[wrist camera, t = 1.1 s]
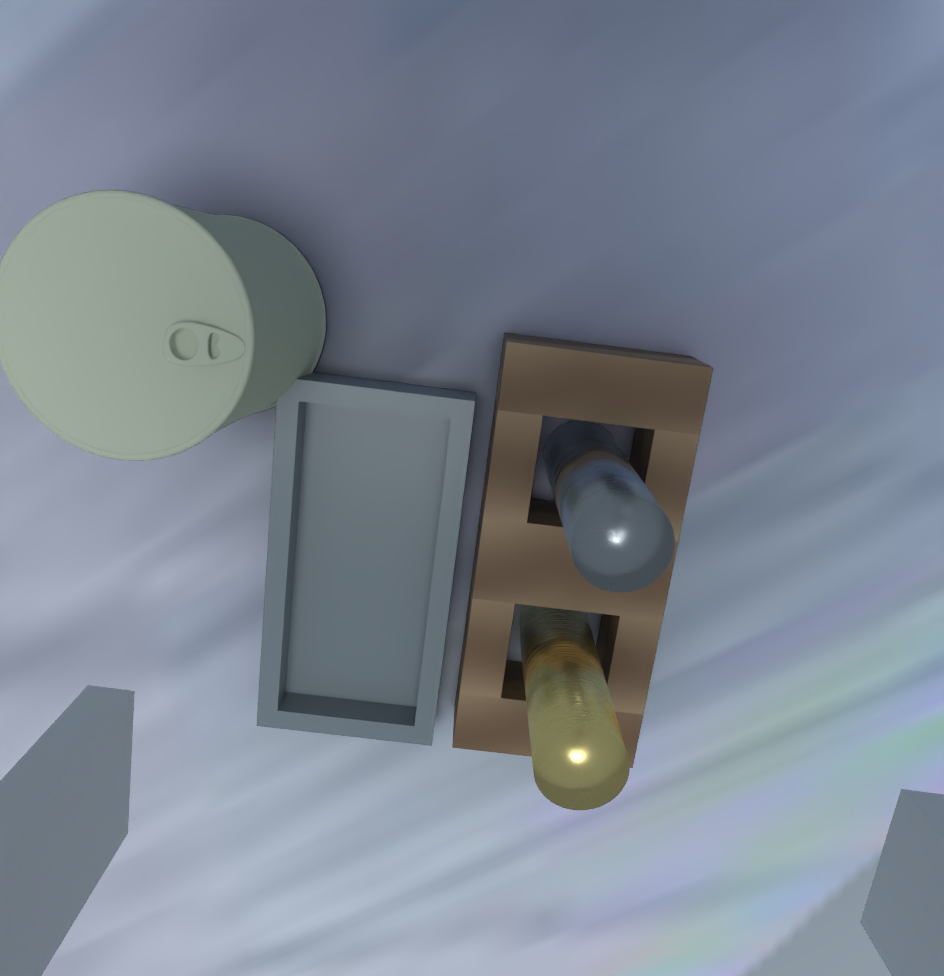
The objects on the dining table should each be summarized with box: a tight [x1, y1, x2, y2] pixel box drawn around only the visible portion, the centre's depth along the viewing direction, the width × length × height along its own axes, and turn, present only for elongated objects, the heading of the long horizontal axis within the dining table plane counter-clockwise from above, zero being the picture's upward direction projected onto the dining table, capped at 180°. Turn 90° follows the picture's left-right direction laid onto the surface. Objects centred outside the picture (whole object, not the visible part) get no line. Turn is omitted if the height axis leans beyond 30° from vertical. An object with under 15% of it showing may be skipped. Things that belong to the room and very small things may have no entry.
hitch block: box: [453, 333, 713, 768], centre depth 41 cm, size 20×9×4 cm, turn 173°
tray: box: [257, 372, 476, 746], centre depth 42 cm, size 18×9×2 cm, turn 173°
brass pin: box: [518, 605, 629, 810], centre depth 38 cm, size 4×4×13 cm
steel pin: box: [543, 420, 675, 593], centre depth 36 cm, size 4×4×13 cm
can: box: [0, 190, 326, 461], centre depth 34 cm, size 9×9×12 cm
